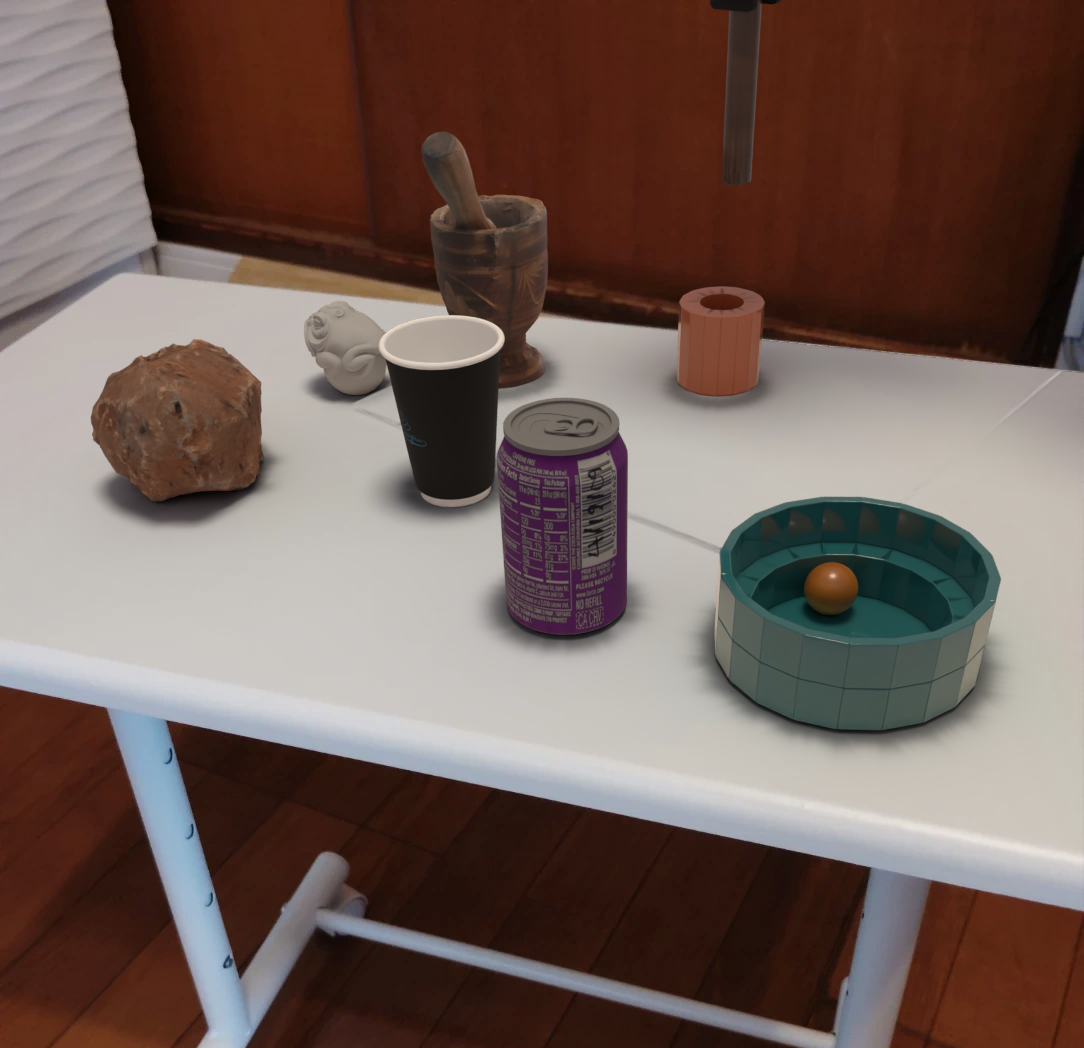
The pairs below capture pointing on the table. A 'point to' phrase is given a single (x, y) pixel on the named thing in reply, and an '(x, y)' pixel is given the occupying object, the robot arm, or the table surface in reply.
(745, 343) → the holder
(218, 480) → the decorative rock
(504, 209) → the mortar and pestle
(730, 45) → the stirring stick
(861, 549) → the bowl
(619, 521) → the beverage can
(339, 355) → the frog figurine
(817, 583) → the bead
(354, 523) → the table surface
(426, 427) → the dixie cup
